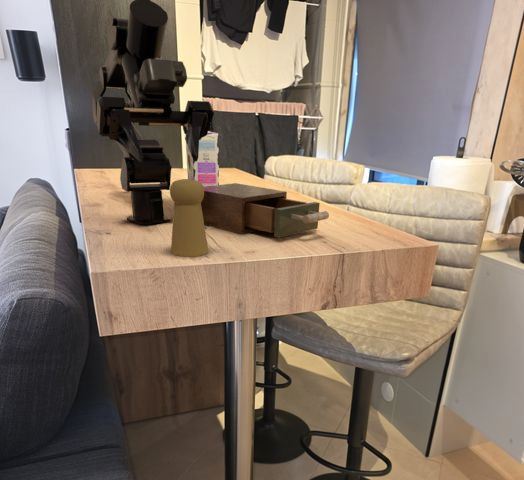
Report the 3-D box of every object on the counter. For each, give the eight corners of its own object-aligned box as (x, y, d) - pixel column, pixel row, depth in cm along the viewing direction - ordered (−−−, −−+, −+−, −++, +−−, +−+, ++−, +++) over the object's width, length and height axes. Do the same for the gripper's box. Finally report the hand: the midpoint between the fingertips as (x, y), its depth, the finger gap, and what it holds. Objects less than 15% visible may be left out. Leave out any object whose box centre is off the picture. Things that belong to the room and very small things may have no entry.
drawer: (335, 232, 85) (338, 206, 83) (297, 242, 77) (299, 213, 75) (266, 217, 95) (266, 193, 93) (226, 224, 88) (226, 199, 86)
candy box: (220, 212, 103) (219, 132, 95) (194, 213, 102) (191, 131, 94) (211, 201, 115) (209, 129, 107) (187, 202, 113) (184, 129, 106)
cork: (190, 244, 78) (187, 176, 72) (216, 251, 74) (214, 180, 69) (163, 251, 73) (157, 179, 68) (188, 258, 70) (185, 183, 65)
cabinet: (285, 225, 93) (286, 191, 90) (241, 234, 85) (242, 197, 82) (235, 214, 102) (235, 183, 99) (191, 221, 94) (190, 188, 91)
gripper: (89, 33, 66) (114, 120, 62) (208, 45, 74) (237, 123, 70) (87, 95, 76) (109, 174, 72) (193, 100, 84) (217, 171, 80)
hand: (169, 160), depth 74 cm, fingers open, 9 cm apart
